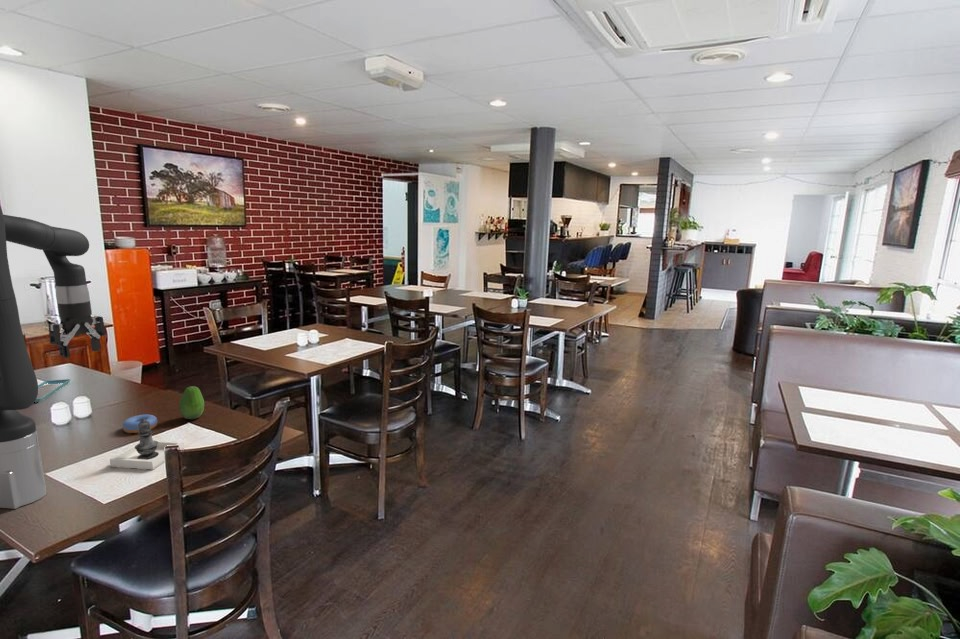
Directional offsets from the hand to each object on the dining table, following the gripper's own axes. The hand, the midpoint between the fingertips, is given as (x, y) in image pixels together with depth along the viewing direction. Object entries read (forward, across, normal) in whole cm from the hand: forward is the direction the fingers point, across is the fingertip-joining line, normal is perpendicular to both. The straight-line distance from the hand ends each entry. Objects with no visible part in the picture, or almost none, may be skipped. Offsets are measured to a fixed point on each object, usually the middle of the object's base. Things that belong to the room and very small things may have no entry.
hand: (81, 354), depth 148 cm
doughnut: (+31, +16, 0) cm, 34 cm away
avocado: (+30, +28, -9) cm, 42 cm away
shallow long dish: (+31, +31, +68) cm, 81 cm away
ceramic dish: (+30, 0, -21) cm, 37 cm away
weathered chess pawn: (+30, 0, -21) cm, 36 cm away
